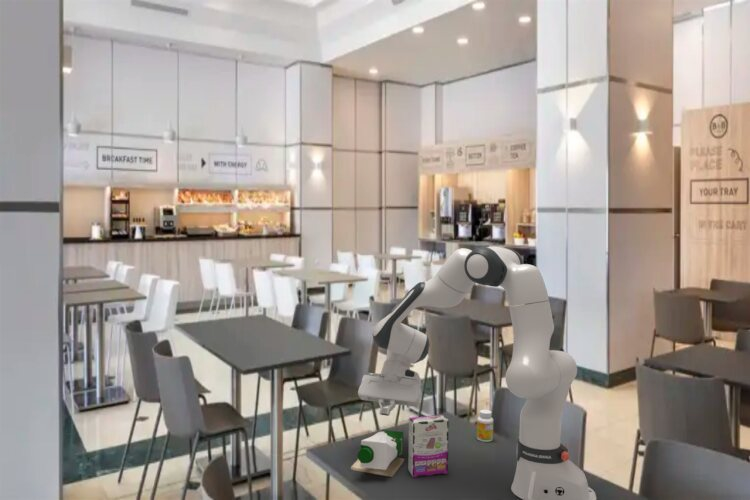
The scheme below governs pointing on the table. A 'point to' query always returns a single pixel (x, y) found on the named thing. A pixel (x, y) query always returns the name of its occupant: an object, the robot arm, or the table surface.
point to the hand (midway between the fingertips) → (384, 414)
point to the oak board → (389, 471)
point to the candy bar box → (428, 445)
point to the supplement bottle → (485, 426)
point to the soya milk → (381, 449)
